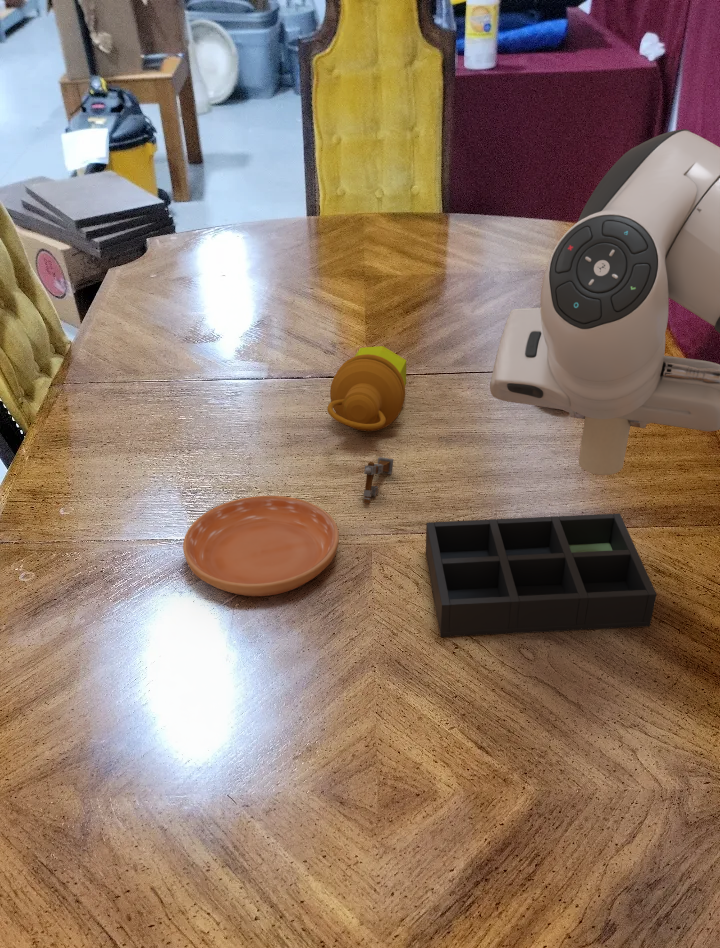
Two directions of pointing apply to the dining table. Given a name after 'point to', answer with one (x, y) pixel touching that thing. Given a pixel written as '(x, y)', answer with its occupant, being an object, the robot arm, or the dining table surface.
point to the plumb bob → (369, 389)
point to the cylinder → (604, 445)
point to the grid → (536, 575)
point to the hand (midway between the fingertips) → (608, 414)
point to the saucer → (261, 545)
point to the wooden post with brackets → (382, 467)
